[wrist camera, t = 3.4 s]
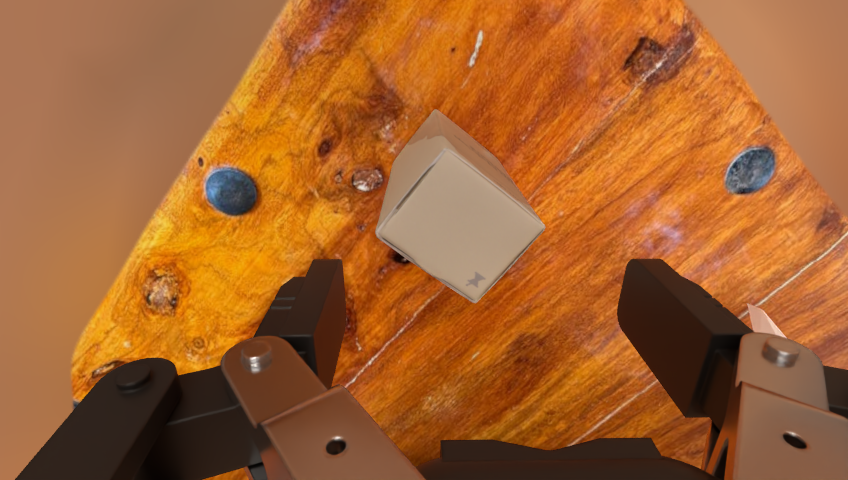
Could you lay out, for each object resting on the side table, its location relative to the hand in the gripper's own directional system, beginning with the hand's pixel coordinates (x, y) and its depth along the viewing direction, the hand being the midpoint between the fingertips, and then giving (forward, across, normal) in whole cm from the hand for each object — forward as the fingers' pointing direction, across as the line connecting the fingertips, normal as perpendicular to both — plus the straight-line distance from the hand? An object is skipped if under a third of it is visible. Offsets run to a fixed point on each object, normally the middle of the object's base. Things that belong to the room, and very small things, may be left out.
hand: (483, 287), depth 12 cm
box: (+15, 0, 0) cm, 15 cm away
